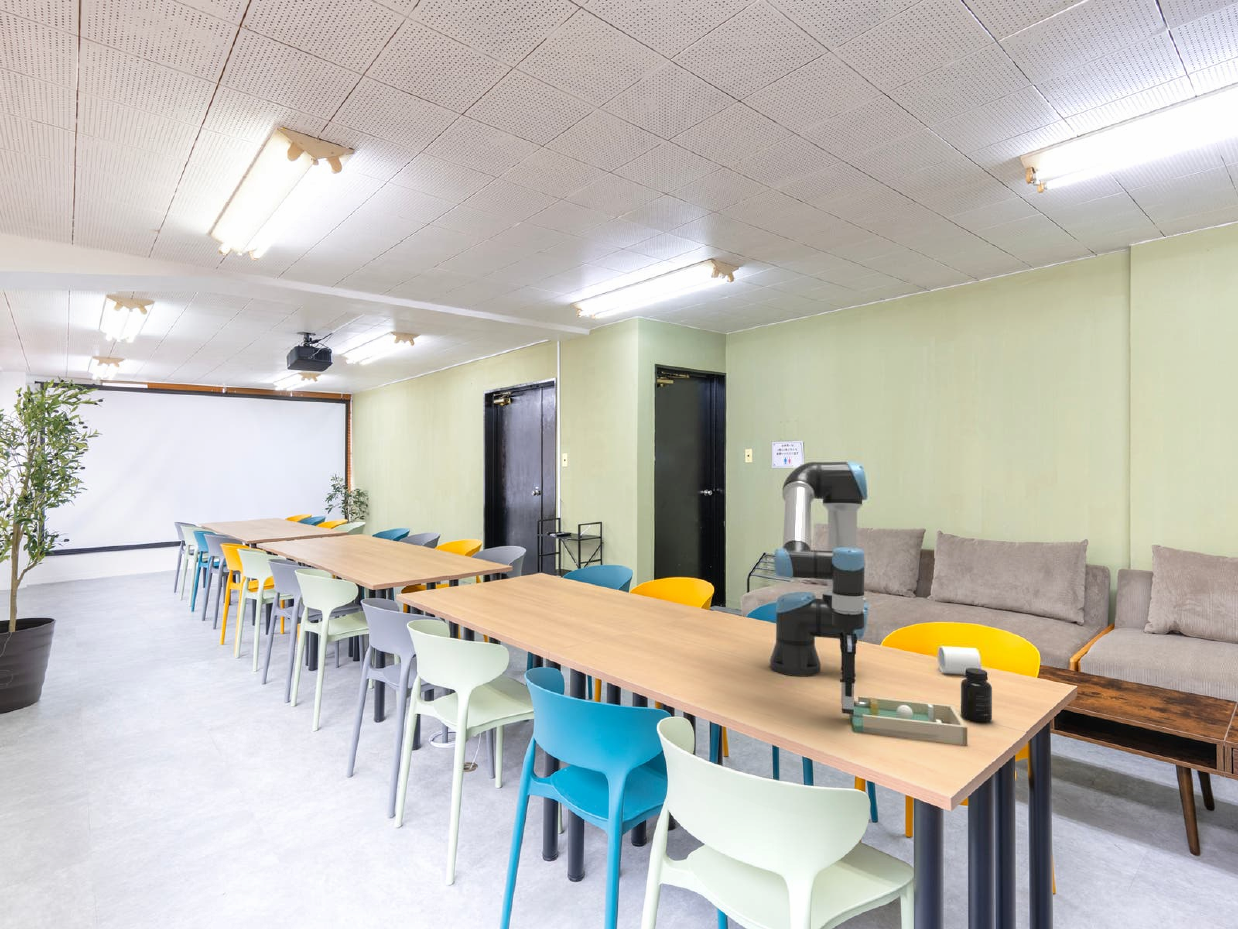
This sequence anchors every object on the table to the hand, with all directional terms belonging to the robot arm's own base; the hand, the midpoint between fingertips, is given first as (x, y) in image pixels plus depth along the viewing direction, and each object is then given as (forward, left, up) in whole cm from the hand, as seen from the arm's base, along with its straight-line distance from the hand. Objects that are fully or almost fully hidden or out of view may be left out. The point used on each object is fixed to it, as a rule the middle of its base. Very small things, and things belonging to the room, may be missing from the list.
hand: (847, 705), depth 155 cm
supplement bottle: (+31, +11, -4) cm, 33 cm away
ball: (+13, 0, 0) cm, 13 cm away
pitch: (+13, 0, -4) cm, 13 cm away
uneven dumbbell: (+3, 0, -2) cm, 3 cm away
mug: (+35, +51, -4) cm, 62 cm away
